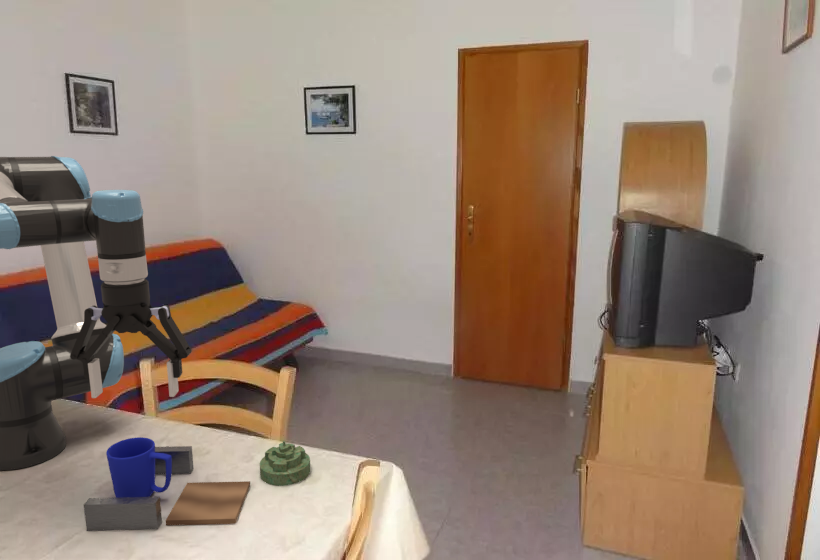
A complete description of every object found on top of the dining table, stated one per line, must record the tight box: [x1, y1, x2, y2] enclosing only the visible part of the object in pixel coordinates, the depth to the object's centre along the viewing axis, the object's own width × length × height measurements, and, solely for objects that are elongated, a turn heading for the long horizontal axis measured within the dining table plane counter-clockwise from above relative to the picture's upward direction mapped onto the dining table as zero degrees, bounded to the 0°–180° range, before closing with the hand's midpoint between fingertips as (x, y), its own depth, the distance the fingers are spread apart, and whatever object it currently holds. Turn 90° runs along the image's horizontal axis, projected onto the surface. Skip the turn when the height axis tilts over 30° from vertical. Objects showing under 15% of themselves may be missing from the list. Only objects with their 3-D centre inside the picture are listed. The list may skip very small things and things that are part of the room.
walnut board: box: [165, 480, 251, 526], centre depth 110 cm, size 12×12×1 cm
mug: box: [105, 437, 172, 498], centre depth 111 cm, size 8×12×10 cm
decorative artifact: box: [259, 440, 311, 487], centre depth 120 cm, size 10×7×10 cm
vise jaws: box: [83, 445, 194, 532], centre depth 113 cm, size 23×12×5 cm, turn 3°
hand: (135, 394), depth 108 cm, fingers open, 13 cm apart
